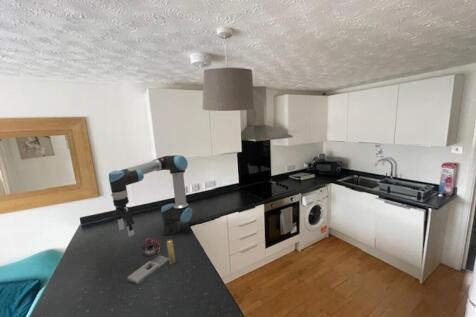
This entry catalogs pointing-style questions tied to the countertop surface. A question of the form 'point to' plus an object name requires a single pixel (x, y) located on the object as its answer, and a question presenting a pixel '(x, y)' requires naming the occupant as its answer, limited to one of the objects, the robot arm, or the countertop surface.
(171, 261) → the pin
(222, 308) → the countertop surface
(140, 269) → the light grey flat block
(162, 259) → the lower link
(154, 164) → the robot arm
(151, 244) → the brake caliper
